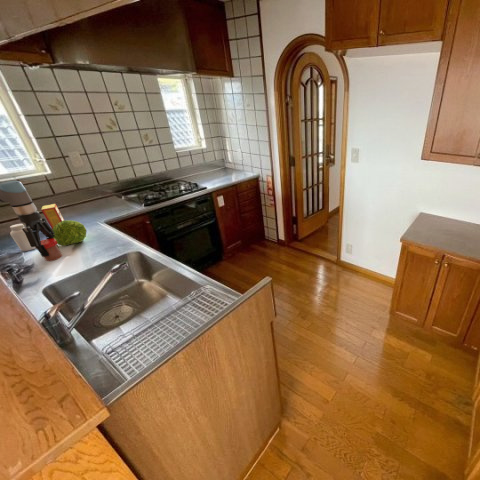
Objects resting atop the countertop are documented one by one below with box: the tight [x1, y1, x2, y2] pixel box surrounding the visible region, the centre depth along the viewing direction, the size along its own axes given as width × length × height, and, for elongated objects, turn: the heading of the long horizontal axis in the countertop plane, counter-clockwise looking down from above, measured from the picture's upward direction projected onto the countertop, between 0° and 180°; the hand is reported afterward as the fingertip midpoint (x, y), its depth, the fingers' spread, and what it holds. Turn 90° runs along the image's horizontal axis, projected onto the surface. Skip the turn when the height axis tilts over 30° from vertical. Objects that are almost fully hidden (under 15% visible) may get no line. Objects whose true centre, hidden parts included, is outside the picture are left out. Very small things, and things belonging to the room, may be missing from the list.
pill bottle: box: [9, 223, 36, 252], centre depth 153 cm, size 8×8×15 cm
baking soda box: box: [40, 203, 65, 229], centre depth 179 cm, size 10×6×16 cm
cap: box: [35, 238, 58, 250], centre depth 138 cm, size 8×8×2 cm
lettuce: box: [51, 219, 88, 247], centre depth 160 cm, size 15×25×16 cm
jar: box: [43, 244, 64, 262], centre depth 140 cm, size 7×7×11 cm
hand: (50, 252), depth 140 cm, fingers closed on cap, 8 cm apart
